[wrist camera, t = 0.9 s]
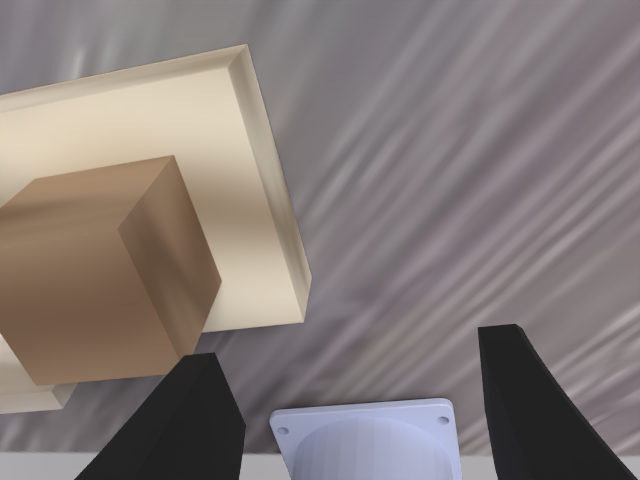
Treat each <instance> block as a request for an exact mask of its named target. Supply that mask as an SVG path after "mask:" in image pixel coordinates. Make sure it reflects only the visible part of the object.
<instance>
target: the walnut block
mask: <svg viewBox="0 0 640 480" xmlns="http://www.w3.org/2000/svg"><path fill="white" fill-rule="evenodd" d="M221 283H222V279H221V277H220V274H219V272H218V269H217V266H216V264H215V261H214V258H213V256H212V253H211V251H210V248H209V245H208V243H207V240H206V238H205V235H204V232H203V230H202V227H201V224H200V222H199V219H198V217H197V214H196V211H195V209H194V206H193V204H192V201H191V198H190V196H189V193H188V190H187V188H186V185H185V183H184V180H183V177H182V175H181V172H180V169H179V167H178V164H177V162H176V159H175V156H174V155H170V156H164V157H158V158H152V159H146V160H141V161H135V162H129V163H123V164H117V165H112V166H106V167H100V168H94V169H88V170H83V171H77V172H71V173H65V174H59V175H53V176H48V177H42V178H36V179H34V180H33V181H31V182H30V183H29V184H28V185H27V186H26V187H24V188H23V189H22V190H21V191H20V192H19V193H17V194H16V195H15V196H14V197H13V198H12V199H10V200H9V201H8V202H7V203H6V204H5V205H3V206H2V207H1V208H0V334H1V335H2V337H3V338H4V339H5V341H6V342H7V344H8V345H9V347H10V348H11V350H12V351H13V353H14V354H15V356H16V357H17V358H18V360H19V361H20V363H21V364H22V366H23V367H24V369H25V370H26V372H27V373H28V375H29V376H30V378H31V379H32V380H33V382H34V383H35V385H36V386H42V385H53V384H65V383H76V382H87V381H98V380H110V379H121V378H132V377H143V376H155V375H166V374H168V373H169V372H170V371H171V370H172V369H173V367H174V366H175V365H176V364H177V363H178V362H179V361H180V360H181V359H182V358H183V356H184V355H193V353H194V350H195V348H196V345H197V343H198V340H199V338H200V335H201V333H202V330H203V328H204V325H205V323H206V320H207V318H208V315H209V313H210V310H211V308H212V305H213V303H214V300H215V298H216V295H217V293H218V290H219V288H220V286H221Z"/></svg>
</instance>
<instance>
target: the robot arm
mask: <svg viewBox="0 0 640 480" xmlns="http://www.w3.org/2000/svg"><path fill="white" fill-rule="evenodd" d="M478 336H479V348H480V359H481V370H482V381H483V393H484V404H485V413H486V418H487V424H488V430H489V436H490V442H491V447H492V453H493V459H494V464H495V469H496V473H497V476H498V480H638V479H637V478H636V477H635V476H634V475H633V474H632V473H631V471H630V470H629V469H628V468H627V467H626V466H625V465H624V464H623V462H622V461H621V460H620V459H619V458H618V457H617V456H616V455H615V454H614V452H613V451H612V450H611V449H610V448H609V447H608V445H607V444H606V443H605V442H604V441H603V439H602V438H601V437H600V436H599V435H598V434H597V432H596V431H595V430H594V429H593V427H592V426H591V425H590V424H589V422H588V421H587V420H586V419H585V417H584V416H583V415H582V414H581V412H580V411H579V410H578V409H577V407H576V406H575V405H574V404H573V403H572V401H571V400H570V399H569V397H568V396H567V395H566V393H565V392H564V391H563V389H562V388H561V387H560V385H559V384H558V383H557V381H556V380H555V378H554V377H553V376H552V374H551V373H550V371H549V370H548V369H547V367H546V366H545V364H544V363H543V361H542V360H541V358H540V357H539V355H538V354H537V352H536V351H535V349H534V348H533V346H532V344H531V343H530V341H529V340H528V338H527V336H526V334H525V333H524V331H523V329H522V328H521V327H519V326H518V325H516V324H509V325H498V326H488V327H478ZM269 422H270V426H271V428H272V431H273V433H274V436H275V438H276V441H277V443H278V446H279V449H280V451H281V454H282V456H283V459H284V461H285V464H286V466H287V469H288V471H289V474H290V477H291V479H292V480H463V479H462V471H461V463H460V455H459V448H458V440H457V433H456V425H455V418H454V410H453V404H452V402H451V401H449V400H448V399H445V398H432V399H418V400H404V401H391V402H377V403H363V404H349V405H335V406H322V407H308V408H294V409H280V410H275V411H273V412H272V413H271V415H270V420H269ZM284 427H285V428H284ZM245 429H246V425H245V423H244V420H243V418H242V416H241V413H240V411H239V409H238V406H237V404H236V402H235V399H234V397H233V395H232V392H231V390H230V388H229V385H228V383H227V380H226V378H225V376H224V373H223V371H222V369H221V366H220V364H219V362H218V359H217V357H216V355H215V353H205V354H195V355H184V356H183V358H182V359H181V360H180V361H179V362H178V363H177V364H176V365H175V366H174V367H173V369H172V370H171V371H170V372H169V373H168V374H167V376H166V377H165V378H164V379H163V380H162V381H161V383H160V384H159V385H158V386H157V387H156V388H155V390H154V391H153V392H152V393H151V394H150V395H149V397H148V398H147V399H146V400H145V401H144V402H143V404H142V405H141V406H140V407H139V408H138V410H137V411H136V412H135V413H134V414H133V415H132V416H131V418H130V419H129V420H128V421H127V422H126V423H125V424H124V426H123V427H122V428H121V429H120V430H119V431H118V432H117V434H116V435H115V436H114V437H113V438H112V439H111V440H110V442H109V443H108V444H107V445H106V446H105V447H104V448H103V450H102V451H101V452H100V453H99V454H98V455H97V456H96V457H95V458H94V459H93V460H92V461H91V463H90V464H89V465H88V466H87V467H86V468H85V469H84V470H83V471H82V472H81V473H80V474H79V475H78V476H77V477H76V478H75V479H74V480H239V474H240V468H241V461H242V454H243V446H244V437H245Z"/></svg>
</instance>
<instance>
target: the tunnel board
mask: <svg viewBox="0 0 640 480" xmlns="http://www.w3.org/2000/svg"><path fill="white" fill-rule="evenodd" d="M170 155H174V156H175V159H176V162H177V164H178V167H179V169H180V172H181V175H182V177H183V180H184V183H185V185H186V188H187V190H188V193H189V196H190V198H191V201H192V204H193V206H194V209H195V211H196V214H197V217H198V219H199V222H200V224H201V227H202V230H203V232H204V235H205V238H206V240H207V243H208V245H209V248H210V251H211V253H212V256H213V258H214V261H215V264H216V266H217V269H218V272H219V274H220V277H221V279H222V283H221V286H220V288H219V290H218V293H217V295H216V298H215V300H214V303H213V305H212V308H211V310H210V313H209V315H208V318H207V320H206V323H205V325H204V328H203V330H202V333H204V332H213V331H223V330H233V329H242V328H252V327H262V326H271V325H281V324H291V323H300V322H304V318H305V313H306V307H307V302H308V296H309V290H310V285H311V279H312V276H311V273H310V269H309V266H308V262H307V258H306V255H305V251H304V247H303V244H302V240H301V237H300V233H299V229H298V226H297V222H296V218H295V215H294V211H293V208H292V204H291V200H290V197H289V193H288V190H287V186H286V182H285V179H284V175H283V171H282V168H281V164H280V161H279V157H278V153H277V150H276V146H275V143H274V139H273V135H272V132H271V128H270V124H269V121H268V117H267V114H266V110H265V106H264V103H263V99H262V95H261V92H260V88H259V85H258V81H257V77H256V74H255V70H254V67H253V63H252V59H251V56H250V52H249V48H248V45H247V44H244V45H239V46H234V47H229V48H224V49H220V50H215V51H210V52H205V53H200V54H196V55H191V56H186V57H181V58H176V59H172V60H167V61H162V62H157V63H152V64H148V65H143V66H138V67H133V68H128V69H124V70H119V71H114V72H109V73H104V74H100V75H95V76H90V77H85V78H80V79H76V80H71V81H66V82H61V83H56V84H52V85H47V86H42V87H37V88H32V89H28V90H23V91H18V92H13V93H8V94H4V95H0V208H1V207H2V206H3V205H5V204H6V203H7V202H8V201H9V200H10V199H12V198H13V197H14V196H15V195H16V194H17V193H19V192H20V191H21V190H22V189H23V188H24V187H26V186H27V185H28V184H29V183H30V182H31V181H33V180H34V179H36V178H42V177H48V176H53V175H59V174H65V173H71V172H77V171H83V170H88V169H94V168H100V167H106V166H112V165H117V164H123V163H129V162H135V161H141V160H146V159H152V158H158V157H164V156H170ZM78 383H79V382H76V383H65V384H53V385H42V386H36V385H35V383H34V382H33V380H32V379H31V378H30V376H29V375H28V373H27V372H26V370H25V369H24V367H23V366H22V364H21V363H20V361H19V360H18V358H17V357H16V356H15V354H14V353H13V351H12V350H11V348H10V347H9V345H8V344H7V342H6V341H5V339H4V338H3V337H2V335H1V334H0V414H5V413H18V412H31V411H43V410H56V409H63V408H64V406H65V405H66V403H67V401H68V400H69V398H70V397H71V395H72V393H73V392H74V390H75V388H76V387H77V385H78Z"/></svg>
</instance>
